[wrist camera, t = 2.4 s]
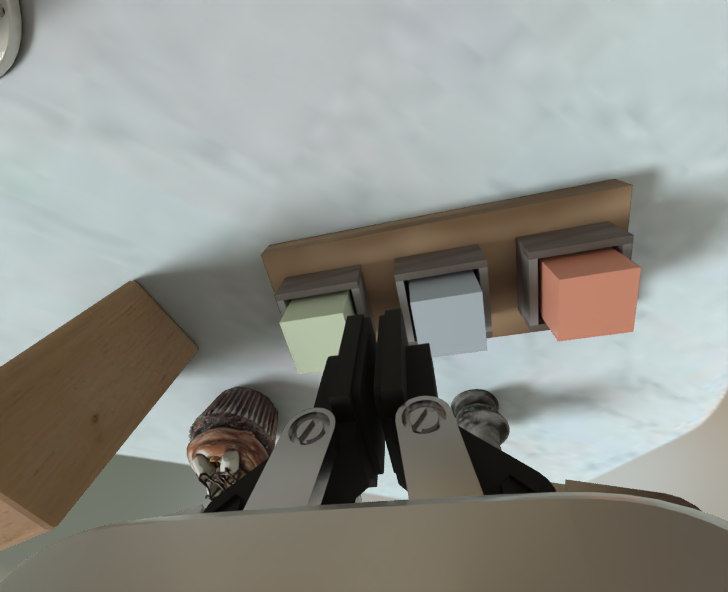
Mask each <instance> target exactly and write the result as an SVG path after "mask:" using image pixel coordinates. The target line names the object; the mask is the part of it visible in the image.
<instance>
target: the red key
mask: <svg viewBox="0 0 728 592" xmlns="http://www.w3.org/2000/svg"><path fill="white" fill-rule="evenodd" d="M640 273H641V267H640V266H639V265H637V264H636V263H634V262H633V261H631V260H630V259H628V258H627V257H625V256H624V255H622V254H621V253H619V252H618V251H616V250H615V249H613V248H612V247H606V248H600V249H594V250H588V251H582V252H576V253H570V254H563V255H557V256H551V257H545V258H539V314H540V315H541V317H542V318H543V320H544V321H545V323H546V324H547V326H548V327H549V329H550V330H551V332H552V333H553V335H554V336H555V337H556V339H557V340H558V341H564V340H572V339H580V338H587V337H595V336H603V335H611V334H619V333H627V332H633V330H634V322H635V314H636V306H637V297H638V289H639V281H640Z"/></svg>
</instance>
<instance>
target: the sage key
mask: <svg viewBox="0 0 728 592" xmlns="http://www.w3.org/2000/svg"><path fill="white" fill-rule="evenodd" d="M351 315H356V314H355V310H354V306H353V302H352V299H351V295H350V291H349V290H344V291H338V292H332V293H325V294H319V295H313V296H307V297H301V298H295V299H292V300H291V302H290V304H289V305H288V307H287V309H286V311H285V313H284V315H283V317H282V319H281V320H280V322H279V324H280V326H281V329H282V332H283V334H284V337H285V340H286V342H287V345H288V348H289V350H290V353H291V356H292V358H293V361H294V364H295V366H296V369H297V372H298V374H305V373H313V372H321V371H324V368H325V365H326V361H327V358H328V357H329V356H335V355H338V353H339V349H340V344H341V340H342V336H343V331H344V327H345V323H346V319H347V316H351Z"/></svg>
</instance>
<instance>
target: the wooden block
mask: <svg viewBox="0 0 728 592" xmlns="http://www.w3.org/2000/svg"><path fill="white" fill-rule="evenodd" d="M197 351H198V347H197V346H196V345H195V343H194V342H193V341H192V340H191V339H190V338H189V337H188V336H187V335H186V334H185V333H184V332H183V331H182V330H181V329H180V327H179V326H178V325H177V324H176V323H175V322H174V321H173V320H172V319H171V318H170V317H169V316H168V315H167V314H166V313H165V311H164V310H163V309H162V308H161V307H160V306H159V305H158V304H157V303H156V302H155V301H154V300H153V299H152V298H151V297H150V295H149V294H148V293H147V292H146V291H145V290H144V289H143V288H142V287H141V286H140V285H139V284H138V283H137V282H136V281H129V282H127V283H126V284H124V285H123V286H121V287H120V288H118V289H117V290H115V291H114V292H112V293H111V294H109V295H108V296H106V297H105V298H103V299H102V300H100V301H99V302H97V303H96V304H94V305H93V306H91V307H90V308H88V309H87V310H85V311H84V312H82V313H81V314H79V315H78V316H76V317H75V318H73V319H72V320H70V321H69V322H67V323H66V324H64V325H63V326H61V327H60V328H58V329H57V330H55V331H54V332H52V333H51V334H49V335H48V336H46V337H45V338H43V339H42V340H40V341H39V342H37V343H36V344H34V345H33V346H31V347H30V348H28V349H27V350H25V351H24V352H22V353H21V354H19V355H18V356H16V357H15V358H13V359H12V360H10V361H9V362H7V363H6V364H4V365H3V366H1V367H0V551H1V550H3V549H6V548H8V547H11V546H13V545H16V544H18V543H20V542H23V541H25V540H28V539H30V538H33V537H35V536H37V535H40V534H43V533H45V532H47V531H50V530H52V529H53V528H55V527H56V526H58V525H59V523H60V522H61V521H62V520H63V518H64V517H65V516H66V515H67V513H68V512H69V511H70V510H71V508H72V507H73V506H74V505H75V503H76V502H77V501H78V500H79V498H80V497H81V496H82V495H83V493H84V492H85V491H86V490H87V488H88V487H89V486H90V485H91V483H92V482H93V481H94V480H95V478H96V477H97V476H98V475H99V474H100V472H101V471H102V469H104V467H105V466H106V465H107V463H108V462H109V461H110V460H111V459H112V457H113V456H114V455H115V454H116V452H117V451H118V450H119V449H120V447H121V446H122V445H123V444H124V442H125V441H126V440H127V439H128V437H129V436H130V435H131V434H132V432H133V431H134V430H135V429H136V427H137V426H138V425H139V424H140V422H141V421H142V420H143V419H144V417H145V416H146V415H147V414H148V412H149V411H150V410H151V409H152V407H153V406H154V405H155V404H156V403H157V401H158V400H159V399H160V398H161V396H162V395H163V394H164V393H165V391H166V390H167V389H168V388H169V386H170V385H171V384H172V383H173V381H174V380H175V379H176V378H177V376H178V375H179V374H180V373H181V371H182V370H183V369H184V368H185V366H186V365H187V364H188V363H189V361H190V360H191V359H192V358H193V356H194V355H195V354H196V353H197Z"/></svg>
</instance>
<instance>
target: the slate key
mask: <svg viewBox="0 0 728 592" xmlns="http://www.w3.org/2000/svg"><path fill="white" fill-rule="evenodd" d="M409 291H410V304H411V309H412V314H413V320H414V325H415V331H416V336H417V342H418V344H424V343H429V344H430V350H431V356H432V357H438V356H446V355H454V354H462V353H470V352H478V351H485V350H487V341H486V329H485V317H484V306H483V294H482V290H481V288H480V285H479V283H478V281H477V279H476V277H475V274H474V272H473V270H466V271H460V272H454V273H447V274H441V275H435V276H429V277H423V278H417V279H411V280H409Z"/></svg>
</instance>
